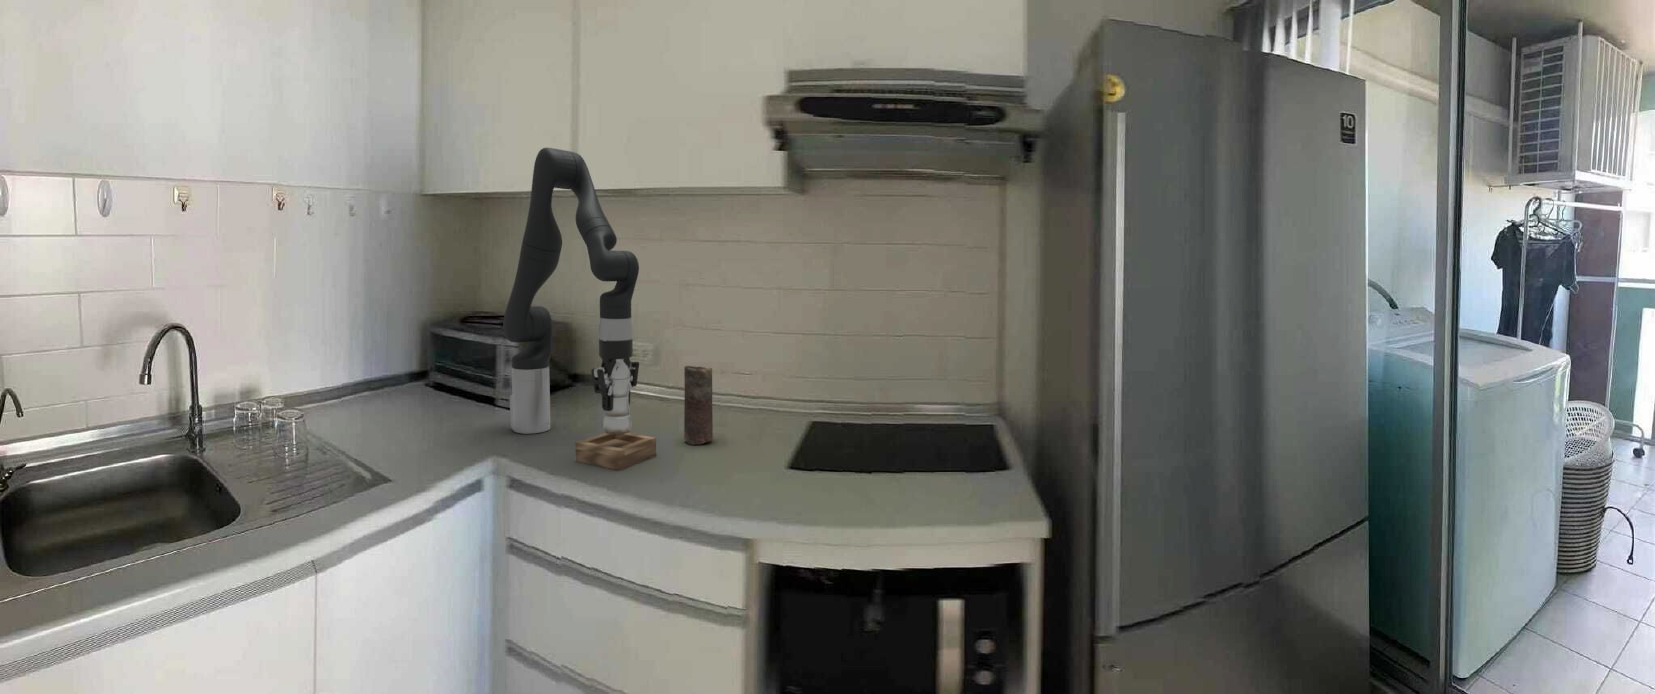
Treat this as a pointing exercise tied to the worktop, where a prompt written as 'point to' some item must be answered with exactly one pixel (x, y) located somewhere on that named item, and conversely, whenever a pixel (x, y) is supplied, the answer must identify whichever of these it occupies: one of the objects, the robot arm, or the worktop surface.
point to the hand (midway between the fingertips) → (616, 407)
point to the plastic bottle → (618, 401)
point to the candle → (698, 405)
